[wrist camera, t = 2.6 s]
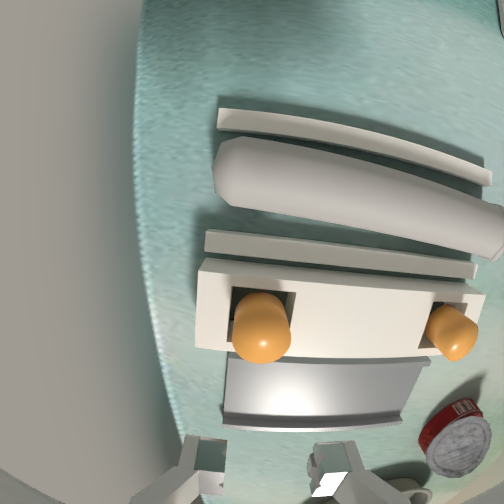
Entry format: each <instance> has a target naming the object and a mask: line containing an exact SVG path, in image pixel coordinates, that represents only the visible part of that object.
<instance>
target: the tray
mask: <svg viewBox="0 0 504 504" xmlns="http://www.w3.org/2000/svg"><path fill="white" fill-rule="evenodd" d="M430 363H431V360H430V359H429V358H428V357H427V356H416V357H394V358H316V357H294V356H282V357H281V358H279V359H278V360H276V361H274V362H271V363H266V364H256V363H251V362H248V361H246V360H244V359H243V358H241V357H240V356H239V355H238V354H237V353H236V352H231V351H229V355H228V367H227V378H226V390H225V401H224V413H223V423H222V428H229V429H240V430H254V431H276V432H320V431H342V430H355V429H366V428H375V427H384V426H391V425H398V424H401V423H402V421H403V420H402V419H401V417H400V413H401V412H402V410H403V408H404V406H405V404H406V402H407V400H408V398H409V396H410V394H411V391H412V389H413V387H414V385H415V383H416V381H417V378H418V376H419V374H420V372H421V369H422V367H424V366H430Z"/></svg>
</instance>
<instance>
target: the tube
mask: <svg viewBox="0 0 504 504" xmlns="http://www.w3.org/2000/svg"><path fill="white" fill-rule="evenodd" d="M212 172H213V179H214V186H215V193H217V194H218V195H219V196H221V197H222V198H223V199H224V200H225V201H226V202H227V203H228V204H230V205H231V206H236V207H243V208H249V209H255V210H262V211H268V212H274V213H280V214H286V215H291V216H297V217H303V218H308V219H314V220H319V221H325V222H330V223H335V224H341V225H346V226H351V227H356V228H361V229H366V230H371V231H376V232H380V233H385V234H390V235H395V236H399V237H404V238H408V239H413V240H417V241H422V242H426V243H430V244H435V245H439V246H443V247H447V248H452V249H456V250H460V251H464V252H468V253H472V254H476V255H478V256H481V257H483V258H485V259H488V260H490V261H492V262H495V261H496V259H497V258H498V257H499V256H500V255H501V254H502V253H503V252H504V207H503V206H501V205H497V204H492V203H488V202H485V201H483V200H481V199H478V198H476V197H473V196H471V195H468V194H466V193H463V192H460V191H458V190H455V189H452V188H450V187H447V186H444V185H441V184H439V183H436V182H433V181H430V180H427V179H424V178H421V177H418V176H415V175H412V174H408V173H405V172H402V171H399V170H395V169H392V168H389V167H385V166H382V165H378V164H374V163H371V162H367V161H363V160H359V159H356V158H352V157H348V156H343V155H339V154H335V153H331V152H326V151H322V150H317V149H312V148H308V147H303V146H298V145H293V144H287V143H282V142H276V141H270V140H264V139H258V138H252V137H245V136H241V137H238V138H234V139H231V140H227V141H224V142H221V144H220V147H219V150H218V152H217V155H216V157H215V160H214V163H213V165H212Z"/></svg>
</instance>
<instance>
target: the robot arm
mask: <svg viewBox="0 0 504 504" xmlns="http://www.w3.org/2000/svg"><path fill="white" fill-rule="evenodd" d="M498 6H499V13H500V22H501V31H502V34H503V36H504V0H498ZM226 448H227V440H222V439H214V438H207V437H201V436H194V435H188V434H186V436H185V439H184V443H183V448H182V452H181V456H180V461H179V465H178V467H173V468H172V469H170V470H169V471H168V472H166V473H165V474H164V475H162V476H161V477H160V478H158V479H157V480H155V481H154V482H153V483H151V484H150V485H148V486H147V487H146V488H145V489H143V490H141V491H140V492H138V493H137V494H136V495H135V496H133V497H131V499H130V502H129V504H190V503H191V502H192V501H193V500H194V499H195V498H196V497H197V496H198V495H199V493H200V494H210V495H221V496H222V492H223V482H224V472H225V460H226ZM307 472H308V476H309V477H310V478H312V480H311V482H310V489H311V495H312V497H318V496H332V495H333V497H334V498H335V499H336V500H337V501H338V502H339V503H340V504H411V502H410V500H409V497H407V496H405V495H404V494H402V493H401V492H399V491H398V490H397V489H395V488H394V487H392V486H391V485H389V484H388V483H386V482H385V481H383V480H382V479H381V478H379V477H378V476H376V475H375V474H374V473H372V472H371V471H370V470H365V468H364V466H363V463H362V460H361V457H360V454H359V452H358V449H357V446H356V443H355V442H354V441H353V440H350V441H334V442H318V443H315V444H314V446H313V453H312V454H310V456H309V458H308V463H307ZM0 504H65V503H63V502H60V501H58V500H56V499H54V498H52V497H50V496H48V495H46V494H44V493H42V492H40V491H39V490H37V489H35V488H33V487H31V486H29V485H28V484H26V483H24V482H23V481H21V480H19V479H17V478H16V477H14V476H12V475H11V474H9V473H8V472H6V471H5V470H3V469H2V468H0ZM461 504H504V481H502V482H501V483H499V484H497V485H496V486H494V487H492V488H490V489H488V490H487V491H485V492H483V493H481V494H479V495H477V496H475V497H473V498H471V499H469V500H467V501H465V502H463V503H461Z"/></svg>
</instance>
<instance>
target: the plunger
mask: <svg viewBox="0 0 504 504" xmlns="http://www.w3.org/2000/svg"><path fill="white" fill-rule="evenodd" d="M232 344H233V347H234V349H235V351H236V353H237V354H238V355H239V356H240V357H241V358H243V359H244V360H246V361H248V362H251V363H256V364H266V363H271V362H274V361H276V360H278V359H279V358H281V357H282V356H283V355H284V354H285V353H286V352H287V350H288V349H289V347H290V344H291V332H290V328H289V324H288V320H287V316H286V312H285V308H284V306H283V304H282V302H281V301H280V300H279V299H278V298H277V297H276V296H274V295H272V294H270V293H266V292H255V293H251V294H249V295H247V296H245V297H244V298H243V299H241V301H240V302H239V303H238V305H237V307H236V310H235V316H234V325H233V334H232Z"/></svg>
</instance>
